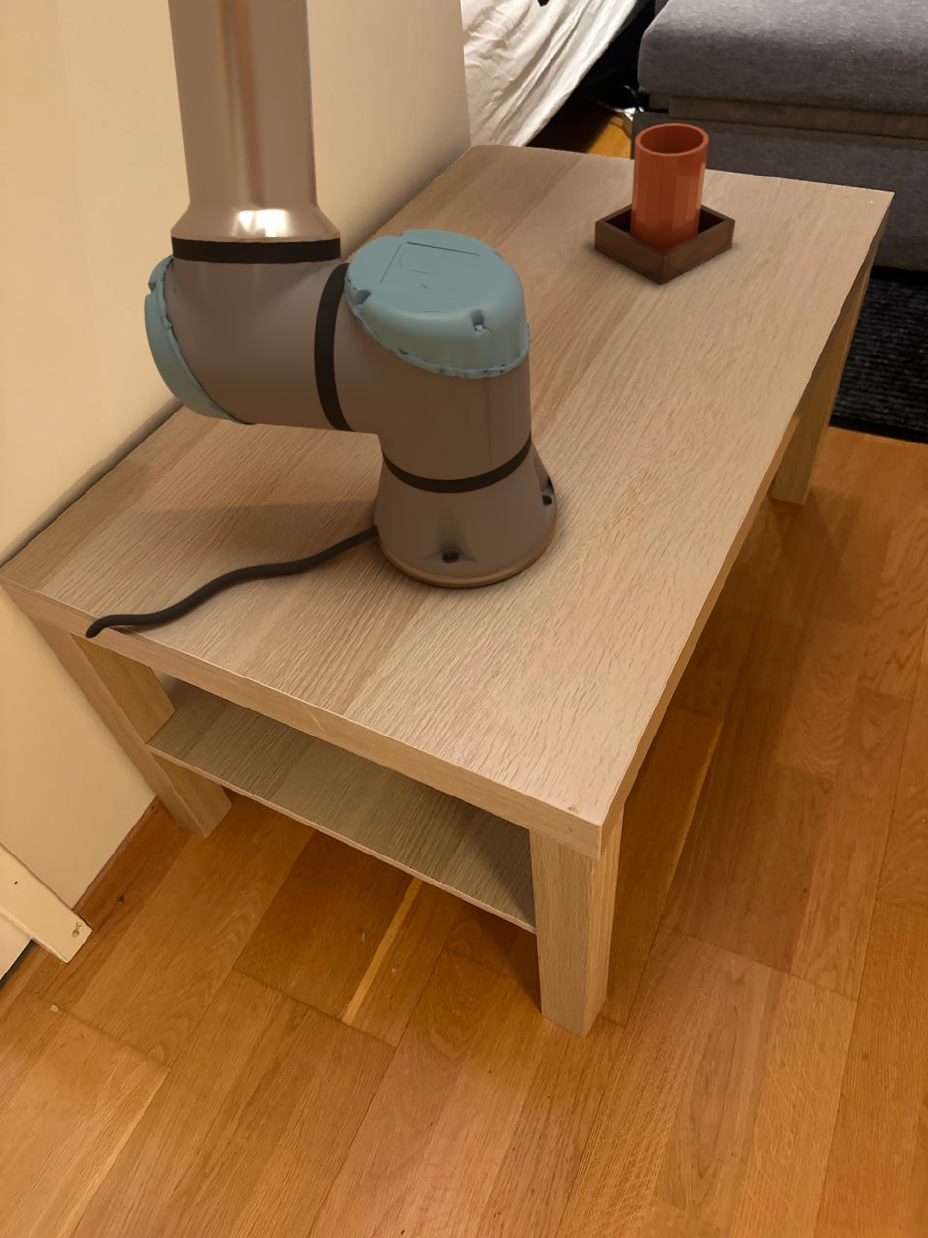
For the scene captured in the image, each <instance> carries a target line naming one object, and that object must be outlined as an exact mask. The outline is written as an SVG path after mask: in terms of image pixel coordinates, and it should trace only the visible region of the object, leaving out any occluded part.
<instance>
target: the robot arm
mask: <svg viewBox="0 0 928 1238" xmlns="http://www.w3.org/2000/svg"><path fill="white" fill-rule="evenodd" d="M536 1H537V3H538V5H539V8H543V7H544V6H545V7H546V6H547V5H548V3H549V2H550V0H536ZM167 5H168V14H169V22H170V32H171V42H172V51H173V61H174V69H175V70H174V71H175V78H176V86H177V87H176V88H177V96H178V105H179V106H178V107H179V114H180V124H181V125H180V126H181V132H182V133H181V134H182V142H183V143H182V144H183V153H184V161H185V170H186V171H185V172H186V180H187V188H188V196H189V197H188V198H189V199H188V200H189V203H188V205H187V208H186V210H185V211H184V212H183V213H182V214H181V216H180V217H179V219H178V220H177V221H176V223H174V225H173V226H172V227H171V228H170V240H171V241H170V242H171V249H172V253H171V254H170V255H169V256H166V257H164V258H163V259H161V261H159V262H158V263H157V264H156V265H155V267H154V268H153V270H152V271H151V274H150V277H149V280H148V282H147V286H148V289H149V291H150V293H147V294H146V295H145V297H144V304H143V305H144V306H143V309H144V311H143V312H144V313H143V314H144V328H145V333H146V337H147V338H146V339H147V343H148V347H149V350H150V353H151V356H152V360H153V363H154V365H155V367H156V369H157V371H158V373H159V376H160V377H161V379H162V381H163V383H164V384H165V386H166V387H167V389H168V390H169V391H170V392H171V394H172V395H173V396H174V397H175V398H177V399H178V400H180V402H181V404H182V405H183V406H185V408H187V409H189V410H190V411H192V412H193V413H196V415H200V416H202V417H207V418H211V419H217V420H218V419H219V420H225V421H230V422H233V423H235V424H239V425H244V426H255V425H270V426H280V427H281V426H282V427H292V428H304V429H315V430H324V431H325V430H326V431H335V432H336V431H338V432H350V433H358V434H359V433H360V434H370V435H376V436H377V437H378V441H379V445H380V450H381V456H382V464H381V469H380V472H379V473H380V474H379V479H378V484H377V485H378V486H377V492H376V496H375V499H374V504H373V521H374V525H372V526H371V527H368V528H366V529H364V530H362V531H360V532H358V533H356V534H353V535H350V536H349V537H347V538H344V539H343V540H341V541H338V542H337V543H335V544H333V545H331V546H329V547H327V548H325V549H324V550H321V551H319V552H318V553H315V554H313V555H311V556H308V557H304V558H301V559H296V560H291V561H287V562H286V561H284V562H275V563H265V564H257V565H250V566H246V567H241V568H238V569H235V570H232V571H229V572H226V573H224V574H222V575H220V576H218V577H215V578H214V579H211V581H209V582H207V583H205V584H203V585H202V586H201V587H200V588H197V590H194V592H192V593H191V594H189V595H188V596H186V597H185V598H183V599H182V600H180V601H178V602H177V603H174V604H173V605H170V606H168V607H166V608H164V609H161V610H159V611H154V612H150V613H140V614H138V613H136V614H135V613H134V614H133V613H132V614H131V613H129V614H128V613H118V614H116V613H115V614H109V615H106V616H103V617H100V618H98V619H97V620H95V621H94V622H92V624H90V626H89V627H88V628H87V630H86V632H85V634H84V635H85V638H86V639H93V638H96V637H98V635H99V634H100V633H101V632H102V631H103V630H104V629H106V628H110V627H116V626H118V627H119V626H126V627H127V626H128V627H129V626H133V627H134V626H135V627H136V626H138V627H141V626H150V625H156V624H160V623H164V622H166V621H168V620H171V619H173V618H176V617H178V616H179V615H182V614H183V613H185V612H187V611H189V610H190V609H192V608H194V606H196V605H198V604H199V603H201V602H202V601H203V600H205V599H206V598H208V597H209V596H211V595H212V594H214V593H215V592H217V591H219V590H221V589H222V588H224V587H226V586H228V585H231V584H234V583H236V582H240V581H242V580H246V579H251V578H254V577H255V578H256V577H264V576H273V575H284V574H290V573H296V572H297V573H298V572H301V571H305V570H308V569H312V568H314V567H317V566H320V565H322V564H324V563H327V562H328V561H329V560H331V559H333V558H335V557H337V556H339V555H341V554H342V553H344V552H346V551H349V550H352V549H353V548H356V547H357V546H359V545H361V544H364V543H366V542H368V541H370V540H373V539H375V538H377V541H378V544H379V547H380V549H381V551H382V553H383V554H384V556H385V557H386V559H387V560H388V561H389V562H390V563H391V564H392V565H393V566H394V567H395V568H396V569H398V570H399V571H400V572H402V573H403V574H405V575H407V576H408V577H410V578H413V579H415V580H417V581H420V582H422V583H425V584H429V585H433V586H439V587H445V588H474V587H481V586H485V585H490V584H493V583H497V582H500V581H502V580H506V579H508V578H510V577H512V576H514V575H517V574H518V573H520V572H522V571H523V570H525V569H526V568H527V567H529V566H531V564H533V563H534V562H535V561H536V560H537V559H538V558H539V557H540V556H541V555H542V554H543V552H544V551H545V550H546V549H547V548H548V546H549V545H550V543H551V541H552V540H553V537H554V534H555V531H556V527H557V519H558V509H557V508H558V507H557V497H556V493H555V492H558V490H557V487H556V485H555V483H554V481H553V478H552V476H551V473H550V471H549V470H548V468H547V465H546V463H545V461H544V460H542V458H541V456H540V454H539V452H538V450H537V448H536V445H535V444H534V442H533V437H532V436H533V435H532V409H531V379H530V378H531V375H530V348H531V341H532V339H531V338H532V335H531V332H530V324H529V323H528V318H527V311H526V310H527V309H526V300H525V292H524V287H523V284H522V280H521V278H520V276H519V274H518V272H517V271H516V269H515V267H514V266H513V265H512V264H511V262H509V261H508V260H506V259H505V258H504V257H503V255H502V254H501V253H500V252H499V251H498V250H497V249H495V248H494V247H492V246H491V245H489V244H487V243H486V242H483V241H482V240H480V239H477V238H476V237H475V238H474V237H472V236H470V235H465V234H464V233H459V232H455V231H450V230H444V229H433V228H417V229H406V230H401V232H400V235H399V236H393V235H392V234H385V235H382V236H379V237H377V238H375V239H372V240H371V241H369V242H367V243H366V244H364V245H363V246H362V247H361V248H359V249H358V250H357V251H356V253H354V255H353V256H352V258H351V259H350V261H349V262H343V261H342V241H341V231H340V229H339V228H338V227H337V226H336V225H335V224H334V223H333V222H332V221H331V219H330V218H329V217H327V216H326V214H325V213H324V212H323V211H322V209H321V208H320V206H319V204H318V194H317V193H318V192H317V173H316V170H317V169H316V153H315V152H316V151H315V132H314V113H313V93H312V91H313V89H312V73H311V71H312V69H311V53H310V33H309V13H308V0H167Z"/></svg>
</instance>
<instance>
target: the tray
mask: <svg viewBox="0 0 928 1238" xmlns="http://www.w3.org/2000/svg"><path fill="white" fill-rule="evenodd" d="M631 209H632V203H630V204H628V205H626V206H624V207H622V208H620V209H618V210H616V211H614V212H611V213H609V214H608V215H605V216H604V217H601V218H599V219H597V220H595V222H594V245H593V248H594V249H596V250H597V251H599V252H601V253H602V254H604V255H606V256H608V257H610V258H612V259H614V260H616V261H617V262H619V263H621V264H623V265H624V266H626V267H628V268H630V269H632V270H633V271H635V272H637V273H639V274H641V275H642V276H645V277H646V278H647V279H649V280H651V281H653V282H655V283H657V284H659V285H663V284H666V283H668V282H669V281H671V280H673V279H675V278H677V277H678V276H680V275H682V274H684V273H686V272H687V271H690V270H691V269H693V268H696V267H697V266H699V265H701V264H703V263H704V262H707V261H709V260H710V259H712V258H714V257H715V256H718V255H719V254H722V253H724V252H725V251H728V250H729V249H731V248H732V246H733V240H734V233H735V227H736V219H735V218H732V217H729V216H727V215H725V214H724V213H721V212H719V211H717V210H715V209H712V208H710V207H708V206H707V205H704V204H702V203H701V208H700V216H699V225H698V233H697V235H696V236H694V237H692V238H690V239H688V240H687V241H685V242H683V243H681V244H679V245H677V246H675V247H673V248H671V249H669V250H667V251H665V252H662V251H660V250H658V249H656V248H654V247H652V246H650V245H649V244H647V243H645V242H643V241H641V240H639V239H637V238H635V237H633V236H631V235H630V227H631Z"/></svg>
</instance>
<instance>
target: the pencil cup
mask: <svg viewBox="0 0 928 1238" xmlns="http://www.w3.org/2000/svg"><path fill="white" fill-rule="evenodd" d="M634 141H635V142H634V144H635V145H634V160H633V177H632V193H631V194H632V195H631V204H632V209H631V227H630V235H631V236H633V237H635V238H637V239H639V240H641V241H643V242H645V243H647V244H649V245H650V246H652V247H654V248H656V249H658V250H660V251H662V252H665V251H667V250H669V249H671V248H673V247H675V246H677V245H679V244H681V243H683V242H685V241H687V240H688V239H690V238H692V237H694V236H696V235H697V233H698V225H699V216H700V208H701V204H702V199H703V190H704V182H705V175H706V165H707V157H708V149H709V148H708V147H709V135H708V133H706V131H704V129H703V128H700V127H698V126H695V125H693V124H686V123H681V122H677V123H674V122H672V123H671V122H669V123H660V124H657V125H651V126H650V127H648V128H645V129H643V130H641V131H640V132H639V133H638V134H637V135H636V136H635V140H634Z"/></svg>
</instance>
